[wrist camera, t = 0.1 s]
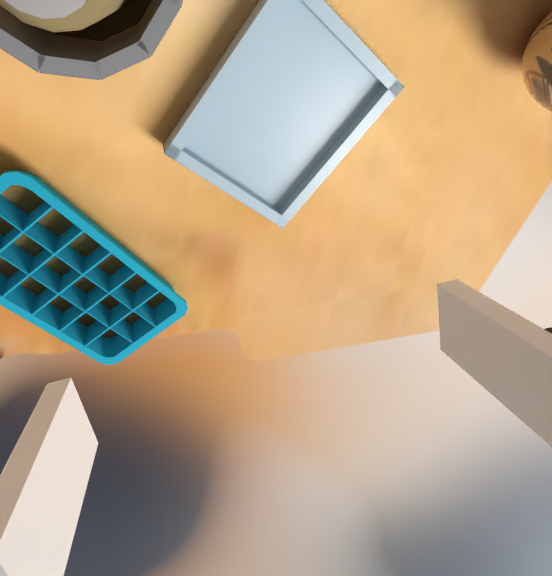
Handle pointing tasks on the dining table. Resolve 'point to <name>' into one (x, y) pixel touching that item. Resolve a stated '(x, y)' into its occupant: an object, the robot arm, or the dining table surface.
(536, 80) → the ceramic vessel
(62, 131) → the dining table surface
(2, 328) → the dining table surface
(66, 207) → the ice cube tray
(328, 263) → the dining table surface
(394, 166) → the dining table surface
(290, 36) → the tray
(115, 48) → the grey faceted ring
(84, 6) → the squeeze bottle
